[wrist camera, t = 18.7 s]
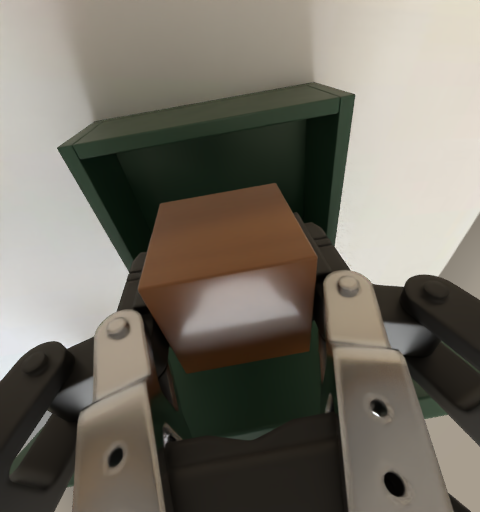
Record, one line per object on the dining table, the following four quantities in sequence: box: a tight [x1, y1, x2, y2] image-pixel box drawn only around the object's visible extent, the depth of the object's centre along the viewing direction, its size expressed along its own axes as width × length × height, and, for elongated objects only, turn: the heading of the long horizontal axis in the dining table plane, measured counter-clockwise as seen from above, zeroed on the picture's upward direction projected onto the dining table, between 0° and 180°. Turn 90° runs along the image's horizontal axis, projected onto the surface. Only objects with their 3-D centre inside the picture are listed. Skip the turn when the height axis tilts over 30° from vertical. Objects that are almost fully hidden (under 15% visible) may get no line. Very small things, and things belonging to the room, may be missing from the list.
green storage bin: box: [57, 82, 355, 271], centre depth 20 cm, size 14×16×6 cm
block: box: [138, 183, 318, 374], centre depth 9 cm, size 4×4×4 cm
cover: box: [9, 321, 480, 487], centre depth 15 cm, size 14×16×5 cm
